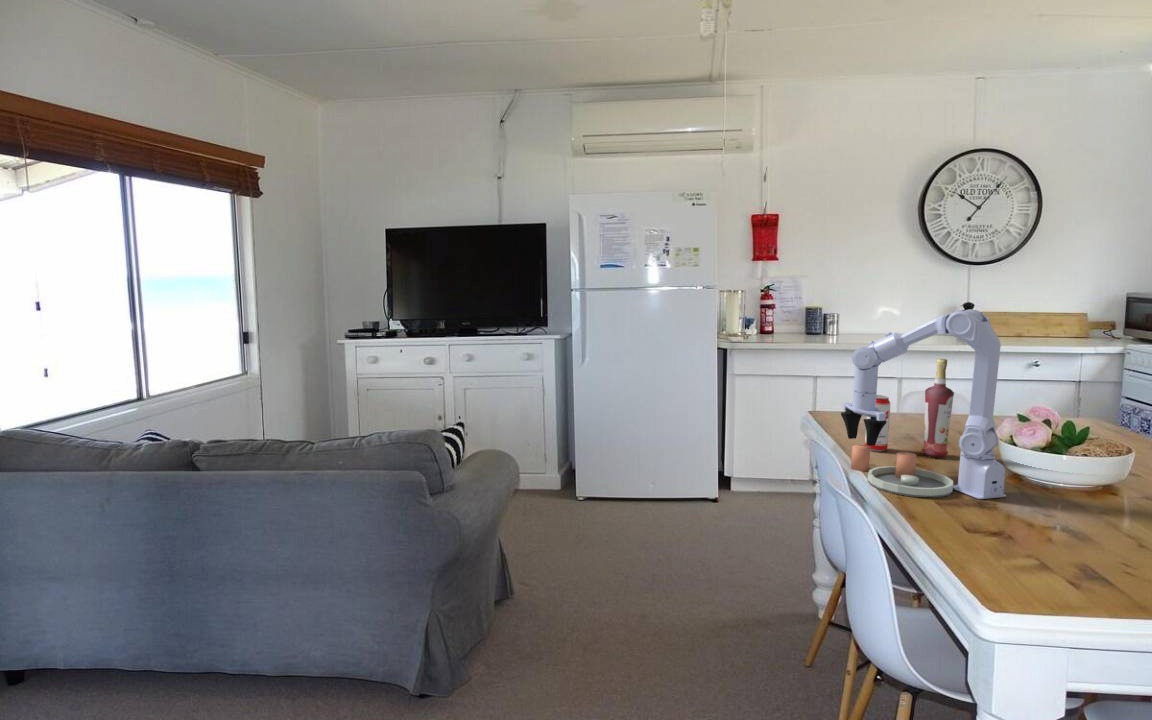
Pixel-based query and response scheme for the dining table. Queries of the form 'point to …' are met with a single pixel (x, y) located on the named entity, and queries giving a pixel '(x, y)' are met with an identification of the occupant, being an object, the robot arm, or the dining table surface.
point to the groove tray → (911, 482)
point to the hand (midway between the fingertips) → (861, 441)
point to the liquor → (937, 414)
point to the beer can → (882, 439)
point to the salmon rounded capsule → (905, 464)
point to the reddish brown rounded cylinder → (860, 457)
